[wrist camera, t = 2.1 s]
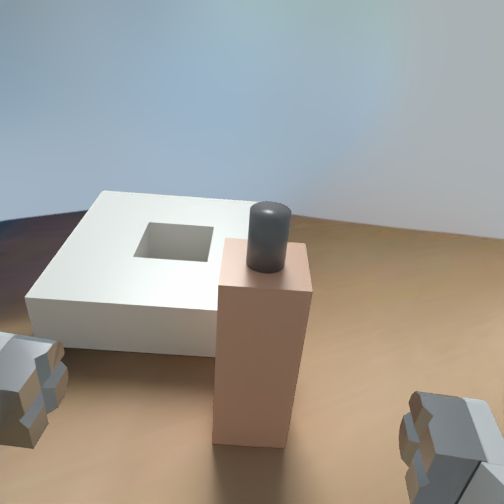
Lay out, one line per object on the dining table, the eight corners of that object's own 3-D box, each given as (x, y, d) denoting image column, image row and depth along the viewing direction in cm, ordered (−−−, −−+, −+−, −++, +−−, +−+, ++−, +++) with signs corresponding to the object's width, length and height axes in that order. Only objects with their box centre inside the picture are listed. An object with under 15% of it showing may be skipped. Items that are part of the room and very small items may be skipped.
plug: (282, 390, 32) (312, 194, 24) (285, 448, 28) (322, 237, 20) (218, 386, 32) (227, 188, 24) (211, 443, 28) (220, 229, 20)
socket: (273, 240, 49) (277, 203, 47) (277, 361, 34) (284, 315, 32) (107, 228, 49) (102, 190, 47) (36, 345, 34) (24, 297, 31)
